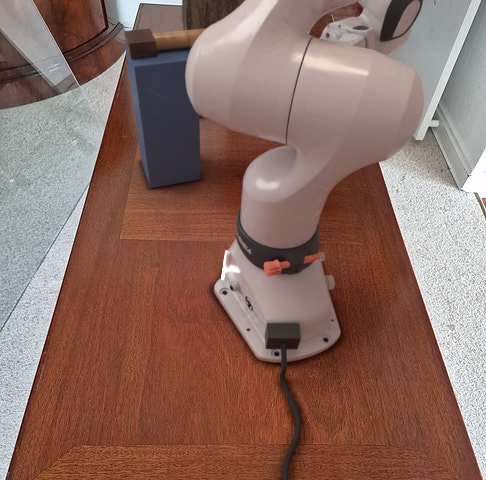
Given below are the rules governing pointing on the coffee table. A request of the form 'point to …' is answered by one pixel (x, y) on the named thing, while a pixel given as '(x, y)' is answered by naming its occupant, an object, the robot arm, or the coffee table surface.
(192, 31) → the wooden mallet
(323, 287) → the robot arm
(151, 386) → the coffee table surface
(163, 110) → the pedestal
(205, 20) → the tabletop clock
